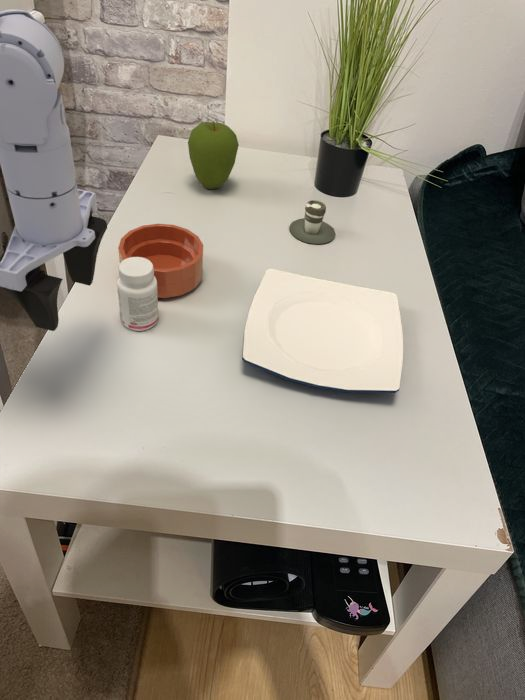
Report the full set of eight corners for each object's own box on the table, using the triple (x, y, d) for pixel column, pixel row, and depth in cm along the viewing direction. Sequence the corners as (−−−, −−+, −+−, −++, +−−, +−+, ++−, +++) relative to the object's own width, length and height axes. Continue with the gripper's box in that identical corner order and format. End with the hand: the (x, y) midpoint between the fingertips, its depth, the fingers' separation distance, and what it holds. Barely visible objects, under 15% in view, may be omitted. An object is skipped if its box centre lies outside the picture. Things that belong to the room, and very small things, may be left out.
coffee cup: (359, 245, 86) (367, 218, 83) (296, 257, 82) (301, 229, 78) (323, 207, 93) (329, 182, 90) (263, 217, 89) (266, 190, 85)
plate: (400, 413, 61) (407, 398, 60) (230, 378, 62) (232, 363, 60) (397, 305, 76) (403, 290, 74) (260, 278, 77) (262, 263, 75)
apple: (206, 203, 90) (209, 137, 82) (177, 182, 94) (177, 117, 86) (244, 190, 94) (250, 126, 86) (215, 171, 98) (219, 108, 90)
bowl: (115, 298, 70) (112, 268, 66) (128, 250, 78) (125, 220, 74) (199, 303, 71) (201, 274, 68) (203, 255, 79) (204, 227, 76)
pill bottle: (166, 317, 69) (164, 264, 63) (142, 337, 65) (138, 284, 59) (137, 302, 70) (133, 249, 64) (112, 321, 67) (106, 268, 61)
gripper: (40, 236, 39) (67, 360, 49) (120, 157, 50) (129, 272, 59) (-46, 215, 40) (-3, 342, 50) (51, 141, 50) (71, 258, 60)
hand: (65, 303), depth 54 cm, fingers open, 7 cm apart
